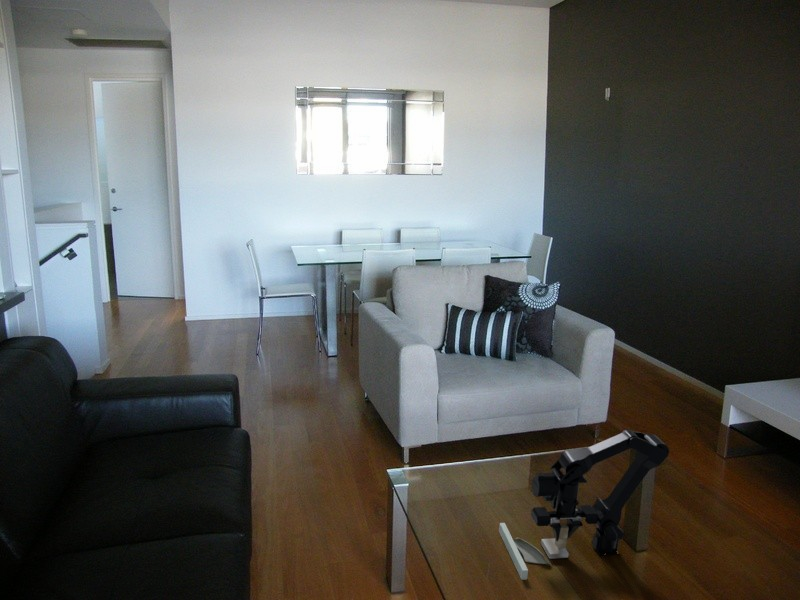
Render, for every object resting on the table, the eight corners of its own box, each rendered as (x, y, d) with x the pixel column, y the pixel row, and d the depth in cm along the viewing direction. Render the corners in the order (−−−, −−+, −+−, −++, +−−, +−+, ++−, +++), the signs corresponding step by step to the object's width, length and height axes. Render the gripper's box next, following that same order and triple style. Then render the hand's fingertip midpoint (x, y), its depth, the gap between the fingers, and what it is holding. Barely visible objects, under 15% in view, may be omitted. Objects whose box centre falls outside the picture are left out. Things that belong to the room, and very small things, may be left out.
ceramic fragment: (551, 567, 190) (553, 555, 189) (540, 574, 187) (541, 562, 186) (515, 542, 201) (516, 531, 200) (503, 549, 197) (504, 537, 196)
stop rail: (503, 531, 205) (504, 522, 204) (527, 579, 184) (528, 570, 183) (498, 531, 205) (499, 523, 204) (521, 579, 184) (522, 570, 183)
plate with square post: (559, 542, 200) (562, 518, 198) (568, 557, 193) (571, 532, 191) (540, 543, 199) (544, 518, 197) (549, 558, 192) (552, 533, 190)
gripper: (586, 478, 200) (579, 522, 205) (527, 480, 197) (522, 524, 202) (602, 498, 190) (594, 545, 194) (540, 501, 187) (534, 548, 191)
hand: (560, 539), depth 196 cm, fingers closed on plate with square post, 2 cm apart
